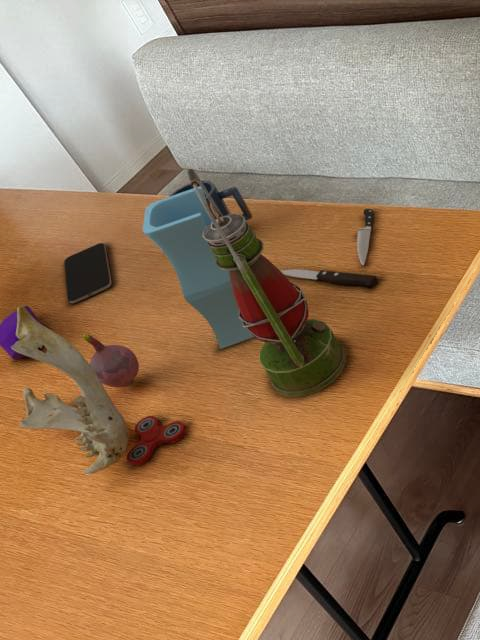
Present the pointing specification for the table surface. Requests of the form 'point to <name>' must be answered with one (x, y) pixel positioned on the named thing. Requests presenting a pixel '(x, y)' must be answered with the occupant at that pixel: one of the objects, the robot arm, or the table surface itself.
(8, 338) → the purple eggplant
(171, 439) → the fidget spinner
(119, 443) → the jawbone
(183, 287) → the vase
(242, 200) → the mug
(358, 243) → the knife
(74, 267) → the smartphone
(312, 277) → the kitchen knife
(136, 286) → the table surface
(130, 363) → the vegetable
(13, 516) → the table surface
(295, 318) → the lantern
